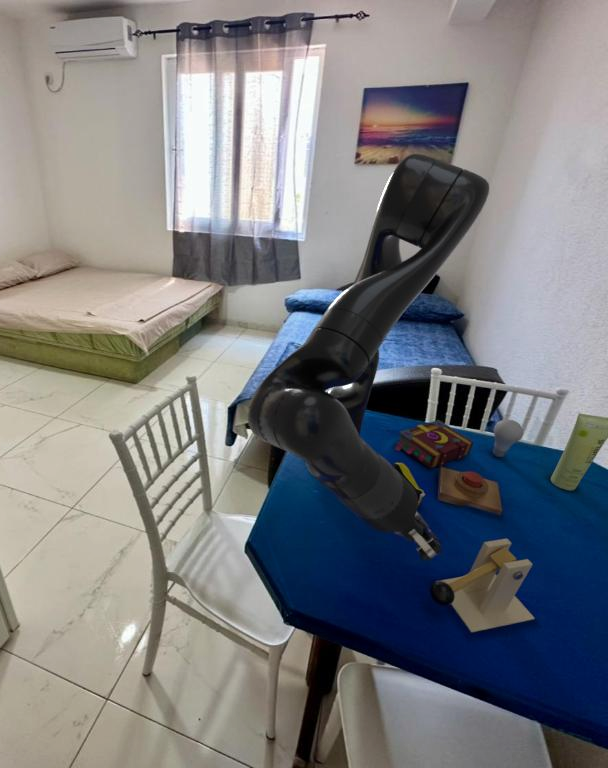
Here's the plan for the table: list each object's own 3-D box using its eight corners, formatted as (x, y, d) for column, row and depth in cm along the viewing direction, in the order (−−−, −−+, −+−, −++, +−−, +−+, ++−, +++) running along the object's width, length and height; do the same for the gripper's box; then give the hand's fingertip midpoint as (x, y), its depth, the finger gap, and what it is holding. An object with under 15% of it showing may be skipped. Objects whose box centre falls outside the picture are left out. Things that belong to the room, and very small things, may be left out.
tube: (565, 494, 94) (605, 424, 85) (543, 480, 98) (579, 412, 89) (580, 488, 96) (621, 419, 87) (557, 474, 100) (594, 407, 91)
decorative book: (469, 455, 106) (476, 440, 104) (426, 472, 100) (432, 456, 97) (433, 432, 115) (438, 417, 113) (391, 446, 109) (395, 431, 106)
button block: (437, 499, 91) (442, 486, 90) (438, 473, 99) (442, 460, 98) (498, 518, 87) (505, 504, 85) (494, 489, 95) (500, 476, 93)
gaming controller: (348, 494, 92) (381, 526, 84) (352, 476, 89) (386, 506, 82) (395, 476, 98) (430, 503, 90) (401, 458, 95) (437, 485, 88)
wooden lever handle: (441, 614, 65) (436, 604, 63) (427, 593, 68) (422, 583, 66) (522, 571, 64) (519, 560, 62) (504, 552, 67) (501, 541, 65)
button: (463, 485, 91) (465, 479, 90) (462, 475, 94) (464, 469, 93) (481, 490, 89) (483, 484, 89) (480, 480, 92) (482, 474, 91)
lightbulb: (514, 465, 103) (531, 429, 98) (488, 461, 104) (504, 426, 99) (505, 450, 108) (520, 416, 103) (480, 447, 109) (494, 413, 104)
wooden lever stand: (469, 636, 65) (497, 584, 59) (433, 585, 72) (454, 535, 66) (532, 622, 67) (565, 571, 61) (490, 575, 75) (516, 525, 69)
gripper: (431, 509, 44) (489, 567, 52) (368, 438, 55) (424, 494, 63) (376, 550, 45) (441, 600, 53) (326, 472, 56) (386, 523, 65)
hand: (432, 543), depth 58 cm, fingers closed
